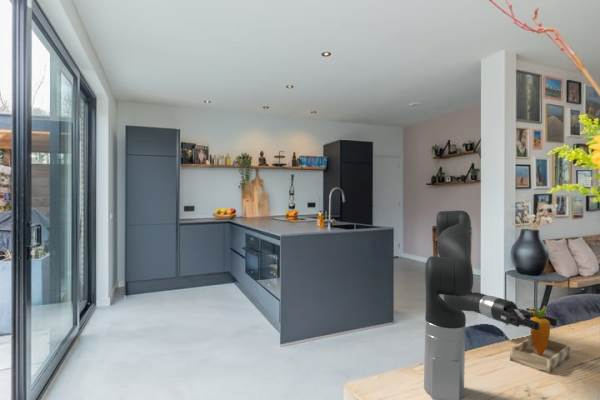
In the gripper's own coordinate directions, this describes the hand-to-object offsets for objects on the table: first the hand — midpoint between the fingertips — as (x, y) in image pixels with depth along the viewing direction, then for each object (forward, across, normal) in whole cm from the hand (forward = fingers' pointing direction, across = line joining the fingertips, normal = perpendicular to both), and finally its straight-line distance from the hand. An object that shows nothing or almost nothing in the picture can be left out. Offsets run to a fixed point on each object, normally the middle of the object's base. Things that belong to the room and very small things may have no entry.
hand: (547, 324), depth 104 cm
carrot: (-2, 0, +10) cm, 10 cm away
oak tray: (-2, 0, +11) cm, 11 cm away
